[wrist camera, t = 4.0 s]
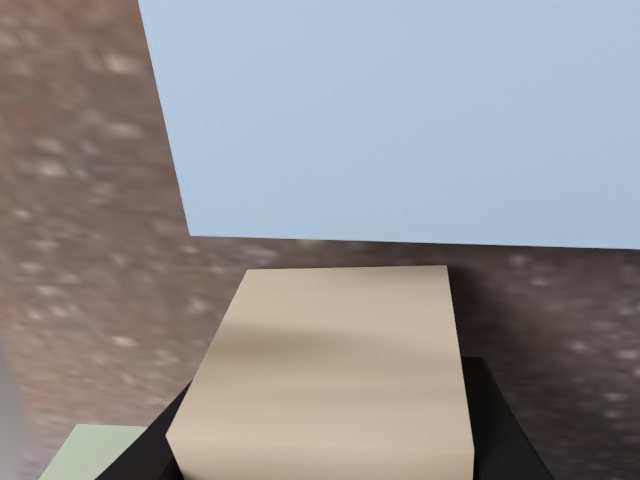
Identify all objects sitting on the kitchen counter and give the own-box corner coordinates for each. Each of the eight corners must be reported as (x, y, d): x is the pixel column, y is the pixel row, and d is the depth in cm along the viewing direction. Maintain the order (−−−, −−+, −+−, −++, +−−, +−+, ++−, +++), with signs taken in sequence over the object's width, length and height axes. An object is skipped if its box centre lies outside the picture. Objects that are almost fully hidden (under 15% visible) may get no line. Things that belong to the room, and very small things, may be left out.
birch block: (445, 408, 12) (465, 610, 9) (279, 403, 13) (230, 584, 9) (446, 265, 10) (474, 450, 6) (247, 270, 11) (165, 435, 7)
